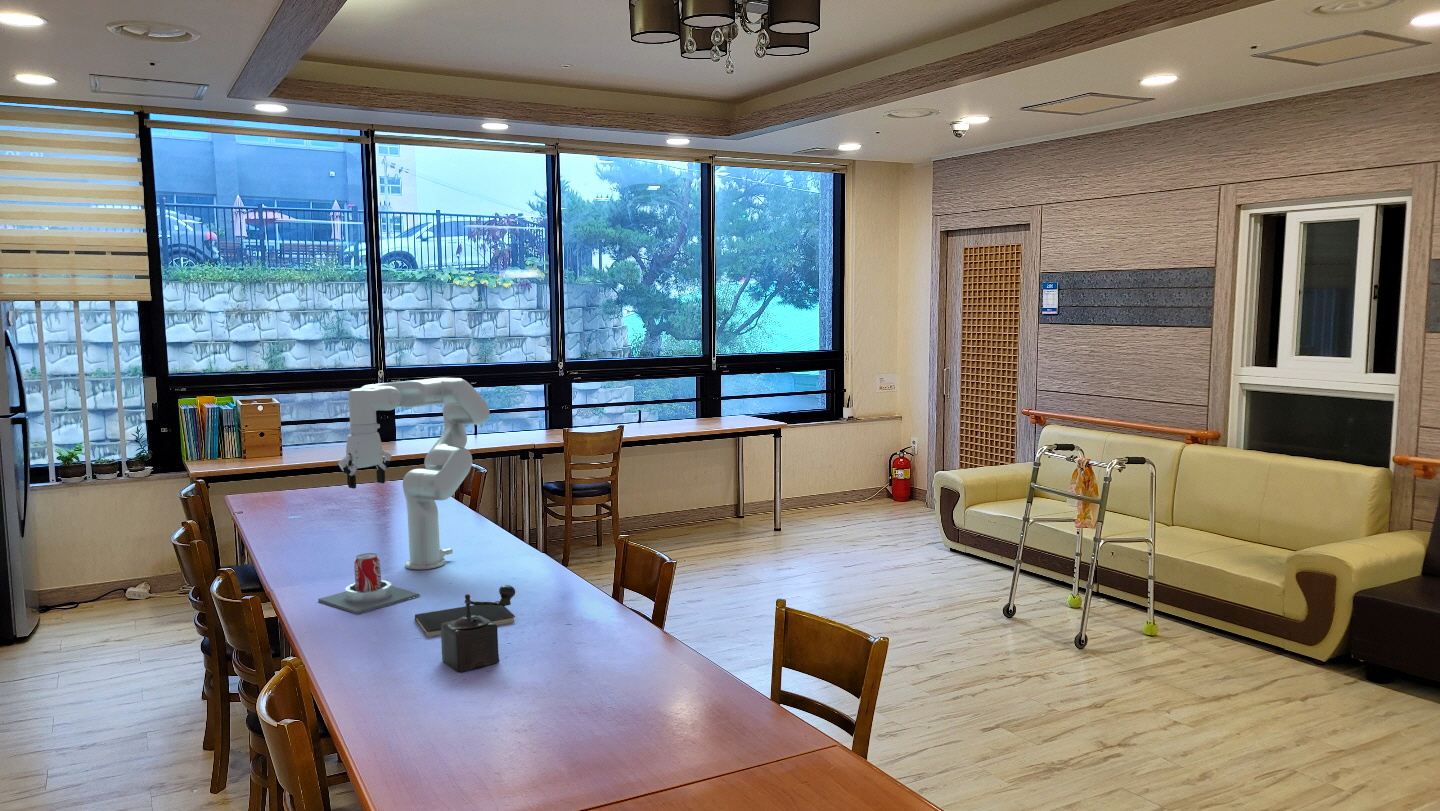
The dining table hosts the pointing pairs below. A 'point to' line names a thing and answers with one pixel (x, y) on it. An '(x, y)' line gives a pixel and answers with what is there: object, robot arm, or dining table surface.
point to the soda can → (367, 572)
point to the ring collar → (368, 593)
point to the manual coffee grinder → (473, 637)
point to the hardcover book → (434, 619)
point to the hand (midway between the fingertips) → (366, 485)
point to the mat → (357, 608)
